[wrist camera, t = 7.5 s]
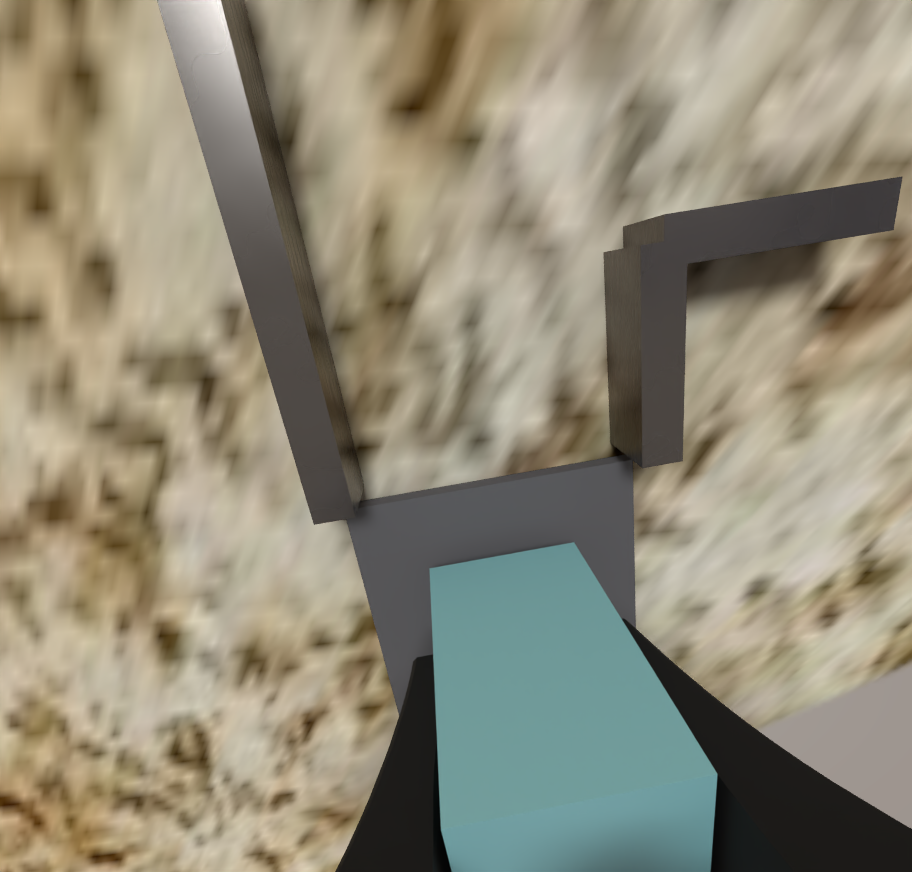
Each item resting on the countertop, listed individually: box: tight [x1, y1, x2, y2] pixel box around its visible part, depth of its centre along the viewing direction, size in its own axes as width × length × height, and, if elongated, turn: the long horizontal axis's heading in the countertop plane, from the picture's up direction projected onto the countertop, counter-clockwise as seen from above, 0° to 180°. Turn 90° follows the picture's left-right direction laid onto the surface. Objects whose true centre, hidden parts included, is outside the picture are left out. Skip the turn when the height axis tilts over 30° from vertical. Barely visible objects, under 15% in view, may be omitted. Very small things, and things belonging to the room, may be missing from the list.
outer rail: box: [157, 0, 364, 525], centre depth 9 cm, size 14×14×2 cm
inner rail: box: [604, 177, 902, 468], centre depth 11 cm, size 6×6×2 cm
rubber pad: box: [346, 455, 636, 716], centre depth 13 cm, size 8×8×1 cm
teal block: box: [429, 542, 717, 872], centre depth 10 cm, size 4×4×6 cm
